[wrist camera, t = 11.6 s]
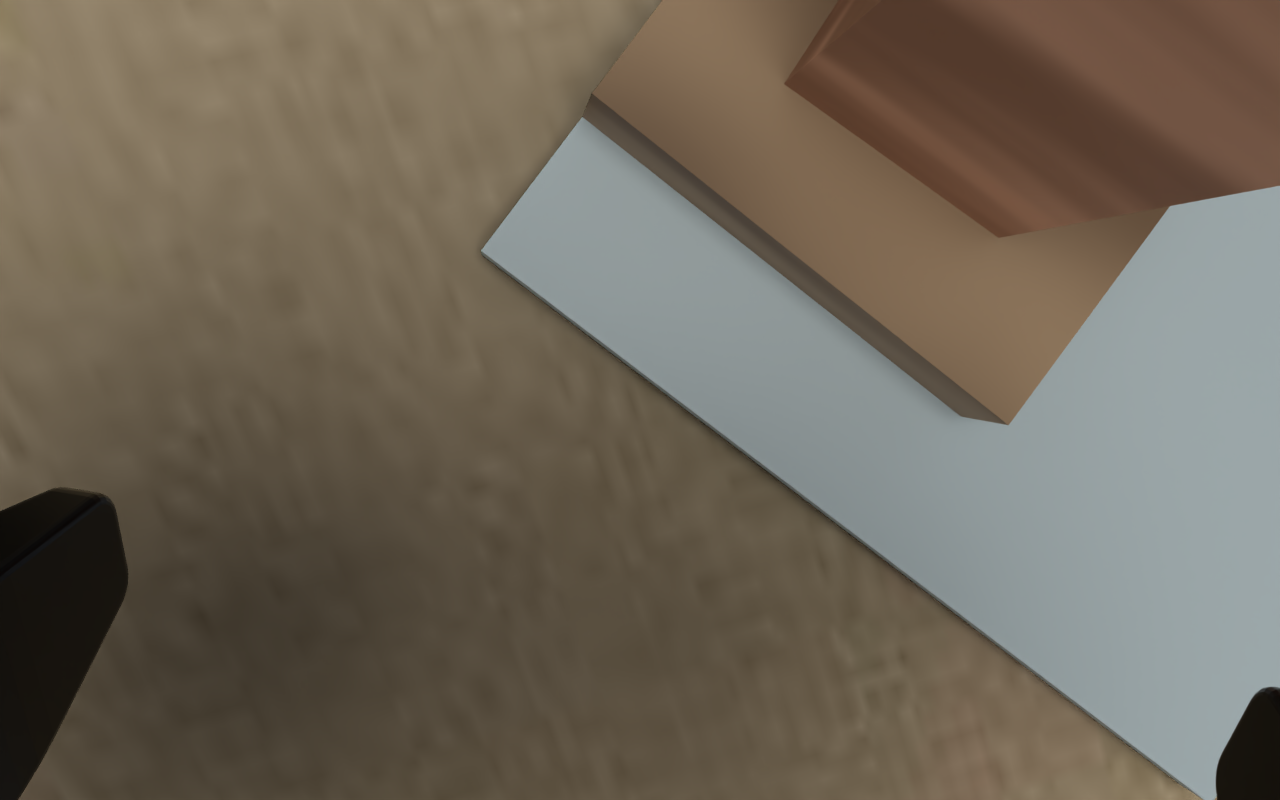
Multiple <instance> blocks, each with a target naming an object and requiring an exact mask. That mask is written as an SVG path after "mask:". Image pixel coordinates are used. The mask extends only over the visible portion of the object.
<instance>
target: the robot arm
mask: <svg viewBox="0 0 1280 800" xmlns="http://www.w3.org/2000/svg"><path fill="white" fill-rule="evenodd" d="M127 585H128V568H127V563H126V558H125V553H124V548H123V543H122V538H121V533H120V528H119V523H118V518H117V513H116V509H115V506H114V504H113V502H112V501H111V500H110V498H109V497H107V496H105V495H103V494H101V493H96V492H90V491H84V490H78V489H72V488H54V489H51V490H48V491H46V492H43V493H41V494H39V495H36V496H34V497H32V498H30V499H27V500H25V501H23V502H20V503H18V504H16V505H13V506H11V507H9V508H7V509H4V510H2V511H0V800H18V799H19V797H20V796H21V794H22V793H23V791H24V789H25V788H26V786H27V784H28V783H29V781H30V780H31V778H32V776H33V775H34V773H35V771H36V770H37V768H38V766H39V765H40V763H41V761H42V759H43V758H44V756H45V754H46V752H47V750H48V748H49V746H50V745H51V743H52V741H53V739H54V737H55V735H56V733H57V731H58V729H59V727H60V725H61V723H62V721H63V719H64V717H65V715H66V713H67V711H68V709H69V708H70V706H71V704H72V702H73V700H74V698H75V696H76V694H77V692H78V690H79V688H80V686H81V684H82V682H83V680H84V678H85V676H86V674H87V672H88V670H89V668H90V666H91V664H92V662H93V660H94V658H95V656H96V654H97V652H98V650H99V648H100V646H101V644H102V642H103V640H104V638H105V636H106V634H107V632H108V630H109V628H110V626H111V624H112V622H113V620H114V618H115V616H116V614H117V612H118V610H119V608H120V606H121V604H122V602H123V599H124V597H125V593H126V590H127ZM1216 795H1217V800H1280V688H1279V687H1265V688H1262V689H1260V690H1259V691H1258V692H1256V693H1255V694H1254V696H1253V697H1252V699H1251V700H1250V702H1249V704H1248V706H1247V708H1246V709H1245V711H1244V713H1243V715H1242V717H1241V719H1240V720H1239V722H1238V724H1237V726H1236V728H1235V730H1234V732H1233V733H1232V735H1231V737H1230V739H1229V741H1228V743H1227V745H1226V746H1225V748H1224V750H1223V752H1222V754H1221V756H1220V759H1219V761H1218V765H1217V770H1216Z"/></svg>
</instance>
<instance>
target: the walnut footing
mask: <svg viewBox="0 0 1280 800" xmlns="http://www.w3.org/2000/svg"><path fill="white" fill-rule="evenodd" d="M837 2H838V0H662V1H661V3H660V4H659V5H658V7H657V8H656V9H655V11H654V12H653V13H652V15H651V16H650V17H649V18H648V20H647V21H646V22H645V24H644V25H643V26H642V28H641V29H640V30H639V32H638V33H637V34H636V36H635V37H634V38H633V40H632V41H631V42H630V44H629V45H628V46H627V48H626V49H625V50H624V52H623V53H622V54H621V55H620V57H619V58H618V59H617V61H616V62H615V63H614V65H613V66H612V67H611V69H610V70H609V71H608V73H607V74H606V75H605V77H604V78H603V79H602V81H601V82H600V83H599V85H598V86H597V87H596V88H595V90H594V91H593V92H592V94H591V97H590V99H589V102H588V104H587V106H586V109H585V111H584V114H583V116H582V117H583V118H584V119H586V120H587V121H588V122H589V123H591V124H592V125H593V126H595V127H596V128H597V129H598V130H600V131H601V132H602V133H603V134H605V135H606V136H607V137H608V138H610V139H611V140H612V141H613V142H615V143H616V144H617V145H619V146H620V147H621V148H622V149H624V150H625V151H626V152H627V153H629V154H630V155H631V156H632V157H634V158H635V159H636V160H637V161H639V162H640V163H641V164H643V165H644V166H645V167H646V168H648V169H649V170H650V171H651V172H653V173H654V174H655V175H656V176H658V177H659V178H660V179H661V180H663V181H664V182H665V183H667V184H668V185H669V186H670V187H672V188H673V189H674V190H675V191H677V192H678V193H679V194H680V195H682V196H683V197H684V198H685V199H687V200H688V201H689V202H691V203H692V204H693V205H694V206H696V207H697V208H698V209H699V210H701V211H702V212H703V213H704V214H706V215H707V216H708V217H709V218H711V219H712V220H713V221H715V222H716V223H717V224H718V225H720V226H721V227H722V228H723V229H725V230H726V231H727V232H728V233H730V234H731V235H732V236H734V237H735V238H736V239H737V240H739V241H740V242H741V243H742V244H744V245H745V246H746V247H747V248H749V249H750V250H751V251H752V252H754V253H755V254H756V255H758V256H759V257H760V258H761V259H763V260H764V261H765V262H766V263H768V264H769V265H770V266H771V267H773V268H774V269H775V270H776V271H778V272H779V273H780V274H782V275H783V276H784V277H785V278H787V279H788V280H789V281H790V282H792V283H793V284H794V285H795V286H797V287H798V288H799V289H800V290H802V291H803V292H804V293H806V294H807V295H808V296H809V297H811V298H812V299H813V300H814V301H816V302H817V303H818V304H819V305H821V306H822V307H823V308H824V309H826V310H827V311H828V312H830V313H831V314H832V315H833V316H835V317H836V318H837V319H838V320H840V321H841V322H842V323H843V324H845V325H846V326H847V327H848V328H850V329H851V330H852V331H854V332H855V333H856V334H857V335H859V336H860V337H861V338H862V339H864V340H865V341H866V342H867V343H869V344H870V345H871V346H872V347H874V348H875V349H876V350H878V351H879V352H880V353H881V354H883V355H884V356H885V357H886V358H888V359H889V360H890V361H891V362H893V363H894V364H895V365H896V366H898V367H899V368H900V369H902V370H903V371H904V372H905V373H907V374H908V375H909V376H910V377H912V378H913V379H914V380H915V381H917V382H918V383H919V384H920V385H922V386H923V387H924V388H926V389H927V390H928V391H929V392H931V393H932V394H933V395H934V396H936V397H937V398H938V399H939V400H941V401H942V402H943V403H944V404H946V405H947V406H948V407H950V408H951V409H952V410H953V411H955V412H956V413H957V414H958V415H960V416H961V417H966V418H972V419H977V420H983V421H988V422H993V423H999V424H1004V425H1009V424H1010V423H1011V421H1012V420H1013V419H1014V417H1015V416H1016V415H1017V413H1018V412H1019V411H1020V409H1021V408H1022V406H1023V405H1024V404H1025V402H1026V401H1027V400H1028V398H1029V397H1030V396H1031V394H1032V393H1033V392H1034V390H1035V389H1036V387H1037V386H1038V385H1039V383H1040V382H1041V381H1042V379H1043V378H1044V377H1045V375H1046V374H1047V373H1048V371H1049V370H1050V368H1051V367H1052V366H1053V364H1054V363H1055V362H1056V360H1057V359H1058V358H1059V356H1060V355H1061V354H1062V352H1063V351H1064V349H1065V348H1066V347H1067V345H1068V344H1069V343H1070V341H1071V340H1072V339H1073V337H1074V336H1075V335H1076V333H1077V332H1078V330H1079V329H1080V328H1081V326H1082V325H1083V324H1084V322H1085V321H1086V320H1087V318H1088V317H1089V316H1090V314H1091V313H1092V311H1093V310H1094V309H1095V307H1096V306H1097V305H1098V303H1099V302H1100V301H1101V299H1102V298H1103V296H1104V295H1105V294H1106V292H1107V291H1108V290H1109V288H1110V287H1111V286H1112V284H1113V283H1114V282H1115V280H1116V279H1117V277H1118V276H1119V275H1120V273H1121V272H1122V271H1123V269H1124V268H1125V267H1126V265H1127V264H1128V263H1129V261H1130V260H1131V258H1132V257H1133V256H1134V254H1135V253H1136V252H1137V250H1138V249H1139V248H1140V246H1141V245H1142V244H1143V242H1144V241H1145V239H1146V238H1147V237H1148V235H1149V234H1150V233H1151V231H1152V230H1153V229H1154V227H1155V226H1156V225H1157V223H1158V222H1159V220H1160V219H1161V218H1162V216H1163V215H1164V214H1165V212H1166V211H1167V210H1168V208H1169V207H1170V206H1168V207H1162V208H1157V209H1151V210H1146V211H1141V212H1135V213H1130V214H1125V215H1119V216H1114V217H1108V218H1103V219H1098V220H1092V221H1087V222H1081V223H1076V224H1071V225H1065V226H1060V227H1054V228H1049V229H1044V230H1038V231H1033V232H1027V233H1022V234H1017V235H1011V236H1006V237H1000V238H998V237H997V236H995V235H994V234H993V233H991V232H990V231H989V230H987V229H986V228H984V227H983V226H982V225H980V224H979V223H977V222H976V221H975V220H973V219H972V218H970V217H969V216H968V215H966V214H965V213H963V212H962V211H961V210H959V209H958V208H956V207H955V206H954V205H952V204H951V203H949V202H948V201H947V200H945V199H944V198H942V197H941V196H940V195H938V194H937V193H935V192H934V191H933V190H931V189H930V188H929V187H927V186H926V185H924V184H923V183H922V182H920V181H919V180H917V179H916V178H915V177H913V176H912V175H910V174H909V173H908V172H906V171H905V170H903V169H902V168H901V167H899V166H898V165H896V164H895V163H894V162H892V161H891V160H889V159H888V158H887V157H885V156H884V155H882V154H881V153H880V152H878V151H877V150H875V149H874V148H873V147H871V146H870V145H869V144H867V143H866V142H864V141H863V140H862V139H860V138H859V137H857V136H856V135H855V134H853V133H852V132H850V131H849V130H848V129H846V128H845V127H843V126H842V125H841V124H839V123H838V122H836V121H835V120H834V119H832V118H831V117H829V116H828V115H827V114H825V113H824V112H822V111H821V110H820V109H818V108H817V107H815V106H814V105H813V104H811V103H810V102H809V101H807V100H806V99H804V98H803V97H802V96H800V95H799V94H797V93H796V92H795V91H793V90H792V89H790V88H789V87H788V86H786V85H785V84H784V83H785V82H786V80H787V79H788V77H789V76H790V74H791V72H792V71H793V69H794V68H795V66H796V65H797V63H798V62H799V60H800V59H801V57H802V56H803V54H804V53H805V51H806V49H807V48H808V46H809V45H810V43H811V42H812V40H813V39H814V37H815V36H816V34H817V33H818V31H819V29H820V28H821V26H822V25H823V23H824V22H825V20H826V19H827V17H828V16H829V14H830V13H831V11H832V10H833V8H834V6H835V5H836V3H837Z"/></svg>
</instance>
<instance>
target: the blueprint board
mask: <svg viewBox="0 0 1280 800" xmlns="http://www.w3.org/2000/svg"><path fill="white" fill-rule="evenodd" d="M481 253H482V255H483V256H484V257H486V258H487V259H488V260H490V261H491V262H492V263H494V264H495V265H496V266H498V267H499V268H500V269H501V270H503V271H504V272H505V273H507V274H508V275H509V276H511V277H512V278H513V279H515V280H516V281H517V282H519V283H520V284H521V285H523V286H524V287H525V288H527V289H528V290H529V291H530V292H532V293H533V294H534V295H536V296H537V297H538V298H540V299H541V300H542V301H544V302H545V303H546V304H548V305H549V306H550V307H552V308H553V309H554V310H556V311H557V312H558V313H559V314H561V315H562V316H563V317H565V318H566V319H567V320H569V321H570V322H571V323H573V324H574V325H575V326H577V327H578V328H579V329H581V330H582V331H583V332H585V333H586V334H587V335H589V336H590V337H591V338H592V339H594V340H595V341H596V342H598V343H599V344H600V345H602V346H603V347H604V348H606V349H607V350H608V351H610V352H611V353H612V354H614V355H615V356H616V357H618V358H619V359H620V360H621V361H623V362H624V363H625V364H627V365H628V366H629V367H631V368H632V369H633V370H635V371H636V372H637V373H639V374H640V375H641V376H643V377H644V378H645V379H647V380H648V381H649V382H650V383H652V384H653V385H654V386H656V387H657V388H658V389H660V390H661V391H662V392H664V393H665V394H666V395H668V396H669V397H670V398H672V399H673V400H674V401H676V402H677V403H678V404H679V405H681V406H682V407H683V408H685V409H686V410H687V411H689V412H690V413H691V414H693V415H694V416H695V417H697V418H698V419H699V420H701V421H702V422H703V423H705V424H706V425H707V426H708V427H710V428H711V429H712V430H714V431H715V432H716V433H718V434H719V435H720V436H722V437H723V438H724V439H726V440H727V441H728V442H730V443H731V444H732V445H734V446H735V447H736V448H737V449H739V450H740V451H741V452H743V453H744V454H745V455H747V456H748V457H749V458H751V459H752V460H753V461H755V462H756V463H757V464H759V465H760V466H761V467H763V468H764V469H765V470H766V471H768V472H769V473H770V474H772V475H773V476H774V477H776V478H777V479H778V480H780V481H781V482H782V483H784V484H785V485H786V486H788V487H789V488H790V489H792V490H793V491H794V492H795V493H797V494H798V495H799V496H801V497H802V498H803V499H805V500H806V501H807V502H809V503H810V504H811V505H813V506H814V507H815V508H817V509H818V510H819V511H821V512H822V513H823V514H824V515H826V516H827V517H828V518H830V519H831V520H832V521H834V522H835V523H836V524H838V525H839V526H840V527H842V528H843V529H844V530H846V531H847V532H848V533H850V534H851V535H852V536H853V537H855V538H856V539H857V540H859V541H860V542H861V543H863V544H864V545H865V546H867V547H868V548H869V549H871V550H872V551H873V552H875V553H876V554H877V555H879V556H880V557H881V558H882V559H884V560H885V561H886V562H888V563H889V564H890V565H892V566H893V567H894V568H896V569H897V570H898V571H900V572H901V573H902V574H904V575H905V576H906V577H908V578H909V579H910V580H911V581H913V582H914V583H915V584H917V585H918V586H919V587H921V588H922V589H923V590H925V591H926V592H927V593H929V594H930V595H931V596H933V597H934V598H935V599H937V600H938V601H939V602H941V603H942V604H943V605H944V606H946V607H947V608H948V609H950V610H951V611H952V612H954V613H955V614H956V615H958V616H959V617H960V618H962V619H963V620H964V621H966V622H967V623H968V624H970V625H971V626H972V627H973V628H975V629H976V630H977V631H979V632H980V633H981V634H983V635H984V636H985V637H987V638H988V639H989V640H991V641H992V642H993V643H995V644H996V645H997V646H999V647H1000V648H1001V649H1002V650H1004V651H1005V652H1006V653H1008V654H1009V655H1010V656H1012V657H1013V658H1014V659H1016V660H1017V661H1018V662H1020V663H1021V664H1022V665H1024V666H1025V667H1026V668H1028V669H1029V670H1030V671H1031V672H1033V673H1034V674H1035V675H1037V676H1038V677H1039V678H1041V679H1042V680H1043V681H1045V682H1046V683H1047V684H1049V685H1050V686H1051V687H1053V688H1054V689H1055V690H1057V691H1058V692H1059V693H1060V694H1062V695H1063V696H1064V697H1066V698H1067V699H1068V700H1070V701H1071V702H1072V703H1074V704H1075V705H1076V706H1078V707H1079V708H1080V709H1082V710H1083V711H1084V712H1086V713H1087V714H1088V715H1089V716H1091V717H1092V718H1093V719H1095V720H1096V721H1097V722H1099V723H1100V724H1101V725H1103V726H1104V727H1105V728H1107V729H1108V730H1109V731H1111V732H1112V733H1113V734H1115V735H1116V736H1117V737H1118V738H1120V739H1121V740H1122V741H1124V742H1125V743H1126V744H1128V745H1129V746H1130V747H1132V748H1133V749H1134V750H1136V751H1137V752H1138V753H1140V754H1141V755H1142V756H1144V757H1145V758H1146V759H1147V760H1149V761H1150V762H1151V763H1153V764H1154V765H1155V766H1157V767H1158V768H1159V769H1161V770H1162V771H1163V772H1165V773H1166V774H1167V775H1169V776H1170V777H1171V778H1173V779H1174V780H1175V781H1176V782H1178V783H1179V784H1180V785H1182V786H1183V787H1185V788H1187V789H1188V790H1190V791H1191V792H1193V793H1194V794H1196V795H1197V796H1199V797H1200V798H1202V799H1203V800H1214V799H1215V797H1216V796H1217V795H1216V770H1217V765H1218V761H1219V759H1220V756H1221V754H1222V752H1223V750H1224V748H1225V746H1226V745H1227V743H1228V741H1229V739H1230V737H1231V735H1232V733H1233V732H1234V730H1235V728H1236V726H1237V724H1238V722H1239V720H1240V719H1241V717H1242V715H1243V713H1244V711H1245V709H1246V708H1247V706H1248V704H1249V702H1250V700H1251V699H1252V697H1253V696H1254V694H1255V693H1256V692H1258V691H1259V690H1260V689H1262V688H1265V687H1279V688H1280V186H1276V187H1270V188H1265V189H1259V190H1254V191H1249V192H1243V193H1238V194H1232V195H1227V196H1222V197H1216V198H1211V199H1205V200H1200V201H1195V202H1189V203H1184V204H1178V205H1173V206H1170V207H1169V208H1168V210H1167V211H1166V212H1165V214H1164V215H1163V216H1162V218H1161V219H1160V220H1159V222H1158V223H1157V225H1156V226H1155V227H1154V229H1153V230H1152V231H1151V233H1150V234H1149V235H1148V237H1147V238H1146V239H1145V241H1144V242H1143V244H1142V245H1141V246H1140V248H1139V249H1138V250H1137V252H1136V253H1135V254H1134V256H1133V257H1132V258H1131V260H1130V261H1129V263H1128V264H1127V265H1126V267H1125V268H1124V269H1123V271H1122V272H1121V273H1120V275H1119V276H1118V277H1117V279H1116V280H1115V282H1114V283H1113V284H1112V286H1111V287H1110V288H1109V290H1108V291H1107V292H1106V294H1105V295H1104V296H1103V298H1102V299H1101V301H1100V302H1099V303H1098V305H1097V306H1096V307H1095V309H1094V310H1093V311H1092V313H1091V314H1090V316H1089V317H1088V318H1087V320H1086V321H1085V322H1084V324H1083V325H1082V326H1081V328H1080V329H1079V330H1078V332H1077V333H1076V335H1075V336H1074V337H1073V339H1072V340H1071V341H1070V343H1069V344H1068V345H1067V347H1066V348H1065V349H1064V351H1063V352H1062V354H1061V355H1060V356H1059V358H1058V359H1057V360H1056V362H1055V363H1054V364H1053V366H1052V367H1051V368H1050V370H1049V371H1048V373H1047V374H1046V375H1045V377H1044V378H1043V379H1042V381H1041V382H1040V383H1039V385H1038V386H1037V387H1036V389H1035V390H1034V392H1033V393H1032V394H1031V396H1030V397H1029V398H1028V400H1027V401H1026V402H1025V404H1024V405H1023V406H1022V408H1021V409H1020V411H1019V412H1018V413H1017V415H1016V416H1015V417H1014V419H1013V420H1012V421H1011V423H1010V424H1009V425H1004V424H999V423H993V422H988V421H983V420H977V419H972V418H966V417H961V416H960V415H958V414H957V413H956V412H955V411H953V410H952V409H951V408H950V407H948V406H947V405H946V404H944V403H943V402H942V401H941V400H939V399H938V398H937V397H936V396H934V395H933V394H932V393H931V392H929V391H928V390H927V389H926V388H924V387H923V386H922V385H920V384H919V383H918V382H917V381H915V380H914V379H913V378H912V377H910V376H909V375H908V374H907V373H905V372H904V371H903V370H902V369H900V368H899V367H898V366H896V365H895V364H894V363H893V362H891V361H890V360H889V359H888V358H886V357H885V356H884V355H883V354H881V353H880V352H879V351H878V350H876V349H875V348H874V347H872V346H871V345H870V344H869V343H867V342H866V341H865V340H864V339H862V338H861V337H860V336H859V335H857V334H856V333H855V332H854V331H852V330H851V329H850V328H848V327H847V326H846V325H845V324H843V323H842V322H841V321H840V320H838V319H837V318H836V317H835V316H833V315H832V314H831V313H830V312H828V311H827V310H826V309H824V308H823V307H822V306H821V305H819V304H818V303H817V302H816V301H814V300H813V299H812V298H811V297H809V296H808V295H807V294H806V293H804V292H803V291H802V290H800V289H799V288H798V287H797V286H795V285H794V284H793V283H792V282H790V281H789V280H788V279H787V278H785V277H784V276H783V275H782V274H780V273H779V272H778V271H776V270H775V269H774V268H773V267H771V266H770V265H769V264H768V263H766V262H765V261H764V260H763V259H761V258H760V257H759V256H758V255H756V254H755V253H754V252H752V251H751V250H750V249H749V248H747V247H746V246H745V245H744V244H742V243H741V242H740V241H739V240H737V239H736V238H735V237H734V236H732V235H731V234H730V233H728V232H727V231H726V230H725V229H723V228H722V227H721V226H720V225H718V224H717V223H716V222H715V221H713V220H712V219H711V218H709V217H708V216H707V215H706V214H704V213H703V212H702V211H701V210H699V209H698V208H697V207H696V206H694V205H693V204H692V203H691V202H689V201H688V200H687V199H685V198H684V197H683V196H682V195H680V194H679V193H678V192H677V191H675V190H674V189H673V188H672V187H670V186H669V185H668V184H667V183H665V182H664V181H663V180H661V179H660V178H659V177H658V176H656V175H655V174H654V173H653V172H651V171H650V170H649V169H648V168H646V167H645V166H644V165H643V164H641V163H640V162H639V161H637V160H636V159H635V158H634V157H632V156H631V155H630V154H629V153H627V152H626V151H625V150H624V149H622V148H621V147H620V146H619V145H617V144H616V143H615V142H613V141H612V140H611V139H610V138H608V137H607V136H606V135H605V134H603V133H602V132H601V131H600V130H598V129H597V128H596V127H595V126H593V125H592V124H591V123H589V122H588V121H587V120H586V119H584V118H583V117H582V118H581V119H580V121H579V122H578V123H577V125H576V126H575V127H574V128H573V130H572V131H571V132H570V134H569V135H568V136H567V138H566V139H565V140H564V142H563V143H562V144H561V146H560V147H559V148H558V150H557V151H556V152H555V154H554V155H553V156H552V158H551V159H550V160H549V162H548V163H547V164H546V165H545V167H544V168H543V169H542V171H541V172H540V173H539V175H538V176H537V177H536V179H535V180H534V181H533V183H532V184H531V185H530V187H529V188H528V189H527V191H526V192H525V193H524V195H523V196H522V197H521V198H520V200H519V201H518V202H517V204H516V205H515V206H514V208H513V209H512V210H511V212H510V213H509V214H508V216H507V217H506V218H505V220H504V221H503V222H502V224H501V225H500V226H499V228H498V229H497V230H496V232H495V233H494V234H493V235H492V237H491V238H490V239H489V241H488V242H487V243H486V245H485V246H484V247H483V249H482V250H481Z"/></svg>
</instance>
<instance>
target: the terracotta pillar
mask: <svg viewBox="0 0 1280 800" xmlns="http://www.w3.org/2000/svg"><path fill="white" fill-rule="evenodd" d="M784 84H785V85H786V86H788V87H789V88H790V89H792V90H793V91H795V92H796V93H797V94H799V95H800V96H802V97H803V98H804V99H806V100H807V101H809V102H810V103H811V104H813V105H814V106H815V107H817V108H818V109H820V110H821V111H822V112H824V113H825V114H827V115H828V116H829V117H831V118H832V119H834V120H835V121H836V122H838V123H839V124H841V125H842V126H843V127H845V128H846V129H848V130H849V131H850V132H852V133H853V134H855V135H856V136H857V137H859V138H860V139H862V140H863V141H864V142H866V143H867V144H869V145H870V146H871V147H873V148H874V149H875V150H877V151H878V152H880V153H881V154H882V155H884V156H885V157H887V158H888V159H889V160H891V161H892V162H894V163H895V164H896V165H898V166H899V167H901V168H902V169H903V170H905V171H906V172H908V173H909V174H910V175H912V176H913V177H915V178H916V179H917V180H919V181H920V182H922V183H923V184H924V185H926V186H927V187H929V188H930V189H931V190H933V191H934V192H935V193H937V194H938V195H940V196H941V197H942V198H944V199H945V200H947V201H948V202H949V203H951V204H952V205H954V206H955V207H956V208H958V209H959V210H961V211H962V212H963V213H965V214H966V215H968V216H969V217H970V218H972V219H973V220H975V221H976V222H977V223H979V224H980V225H982V226H983V227H984V228H986V229H987V230H989V231H990V232H991V233H993V234H994V235H995V236H997V237H998V238H1000V237H1006V236H1011V235H1017V234H1022V233H1027V232H1033V231H1038V230H1044V229H1049V228H1054V227H1060V226H1065V225H1071V224H1076V223H1081V222H1087V221H1092V220H1098V219H1103V218H1108V217H1114V216H1119V215H1125V214H1130V213H1135V212H1141V211H1146V210H1151V209H1157V208H1162V207H1168V206H1173V205H1178V204H1184V203H1189V202H1195V201H1200V200H1205V199H1211V198H1216V197H1222V196H1227V195H1232V194H1238V193H1243V192H1249V191H1254V190H1259V189H1265V188H1270V187H1276V186H1280V0H838V2H837V3H836V5H835V6H834V8H833V10H832V11H831V13H830V14H829V16H828V17H827V19H826V20H825V22H824V23H823V25H822V26H821V28H820V29H819V31H818V33H817V34H816V36H815V37H814V39H813V40H812V42H811V43H810V45H809V46H808V48H807V49H806V51H805V53H804V54H803V56H802V57H801V59H800V60H799V62H798V63H797V65H796V66H795V68H794V69H793V71H792V72H791V74H790V76H789V77H788V79H787V80H786V82H785V83H784Z"/></svg>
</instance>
